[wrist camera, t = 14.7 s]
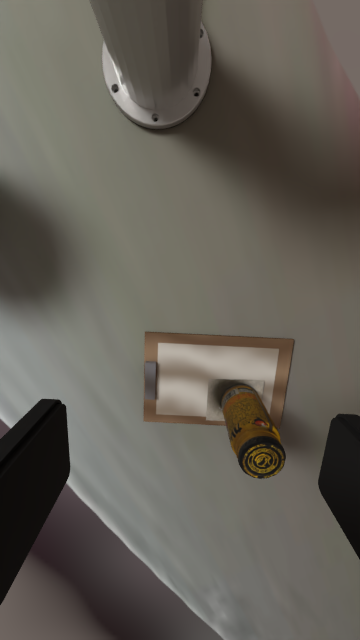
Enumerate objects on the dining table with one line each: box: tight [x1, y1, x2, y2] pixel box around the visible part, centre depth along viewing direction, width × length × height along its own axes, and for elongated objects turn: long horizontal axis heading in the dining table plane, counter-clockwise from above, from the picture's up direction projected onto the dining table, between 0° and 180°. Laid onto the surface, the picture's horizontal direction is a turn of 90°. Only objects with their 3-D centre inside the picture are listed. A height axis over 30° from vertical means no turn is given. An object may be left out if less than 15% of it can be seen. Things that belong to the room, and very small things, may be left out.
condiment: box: [206, 379, 286, 479], centre depth 33 cm, size 7×8×12 cm
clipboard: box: [144, 332, 294, 428], centre depth 38 cm, size 15×22×1 cm
